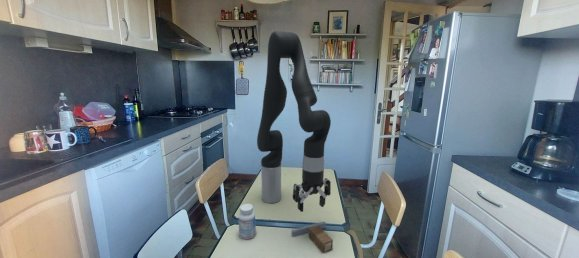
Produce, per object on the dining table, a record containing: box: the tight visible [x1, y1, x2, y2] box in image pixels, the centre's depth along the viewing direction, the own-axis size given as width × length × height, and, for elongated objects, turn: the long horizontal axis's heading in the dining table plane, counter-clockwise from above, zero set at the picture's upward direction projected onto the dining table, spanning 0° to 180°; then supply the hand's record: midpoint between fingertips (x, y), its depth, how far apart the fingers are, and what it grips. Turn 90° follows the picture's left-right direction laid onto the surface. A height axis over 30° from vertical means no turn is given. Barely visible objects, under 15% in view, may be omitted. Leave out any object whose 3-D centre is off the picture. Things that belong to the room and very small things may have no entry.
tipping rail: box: [291, 221, 327, 237], centre depth 92 cm, size 1×14×2 cm, turn 113°
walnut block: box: [308, 226, 334, 254], centre depth 86 cm, size 4×4×9 cm
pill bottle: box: [238, 203, 257, 240], centre depth 89 cm, size 6×6×11 cm
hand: (311, 208), depth 89 cm, fingers open, 8 cm apart
